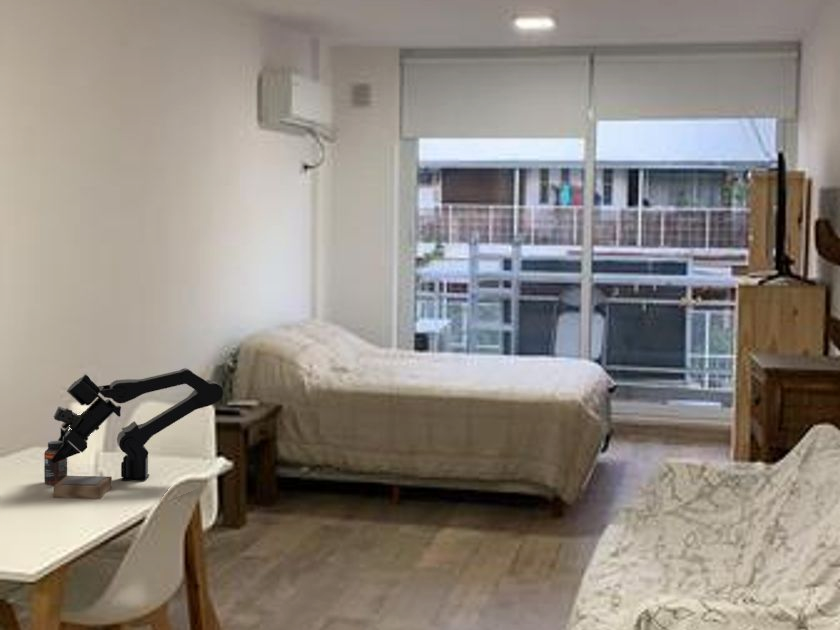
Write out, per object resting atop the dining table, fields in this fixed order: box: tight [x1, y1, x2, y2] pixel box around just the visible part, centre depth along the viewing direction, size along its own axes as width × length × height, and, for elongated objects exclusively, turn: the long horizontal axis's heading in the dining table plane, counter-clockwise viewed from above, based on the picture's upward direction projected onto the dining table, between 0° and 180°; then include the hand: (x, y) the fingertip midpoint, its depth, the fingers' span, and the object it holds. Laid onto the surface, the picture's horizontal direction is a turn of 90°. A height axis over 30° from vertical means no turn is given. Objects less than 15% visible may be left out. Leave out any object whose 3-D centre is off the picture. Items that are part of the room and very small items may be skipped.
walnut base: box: [52, 475, 113, 499], centre depth 295 cm, size 12×12×3 cm
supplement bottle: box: [43, 440, 68, 486], centre depth 304 cm, size 6×6×11 cm
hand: (51, 458), depth 304 cm, fingers open, 9 cm apart
